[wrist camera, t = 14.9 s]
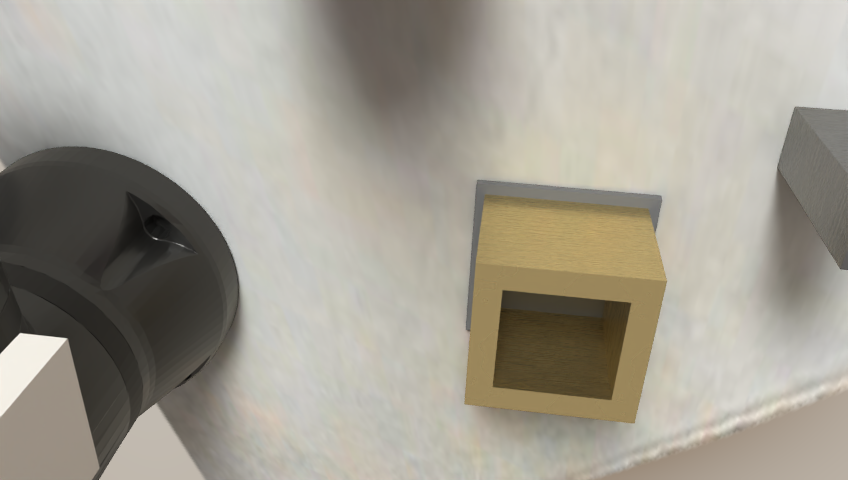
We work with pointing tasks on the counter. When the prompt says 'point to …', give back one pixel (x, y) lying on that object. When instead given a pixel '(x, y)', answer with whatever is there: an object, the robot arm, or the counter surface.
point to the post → (820, 173)
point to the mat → (559, 194)
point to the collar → (561, 333)
